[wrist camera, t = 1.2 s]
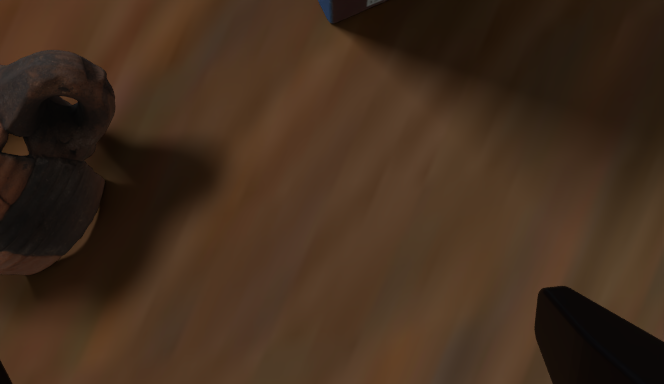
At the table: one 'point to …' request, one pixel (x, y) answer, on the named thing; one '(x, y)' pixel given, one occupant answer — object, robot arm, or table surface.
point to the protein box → (345, 8)
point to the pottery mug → (49, 156)
